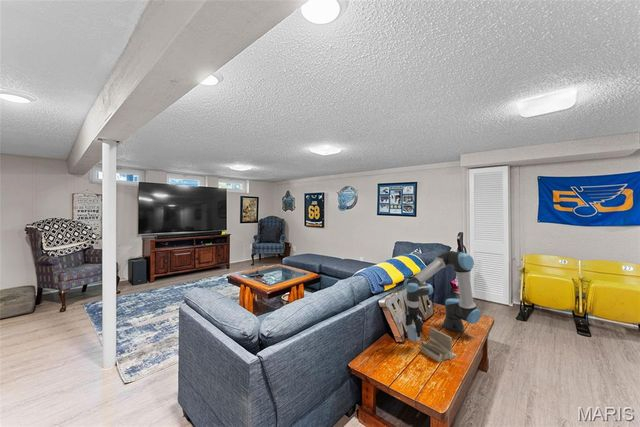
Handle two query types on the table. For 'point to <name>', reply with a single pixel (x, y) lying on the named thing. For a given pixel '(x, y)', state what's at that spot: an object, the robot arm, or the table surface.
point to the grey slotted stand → (439, 346)
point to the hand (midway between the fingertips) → (414, 338)
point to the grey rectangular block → (412, 333)
